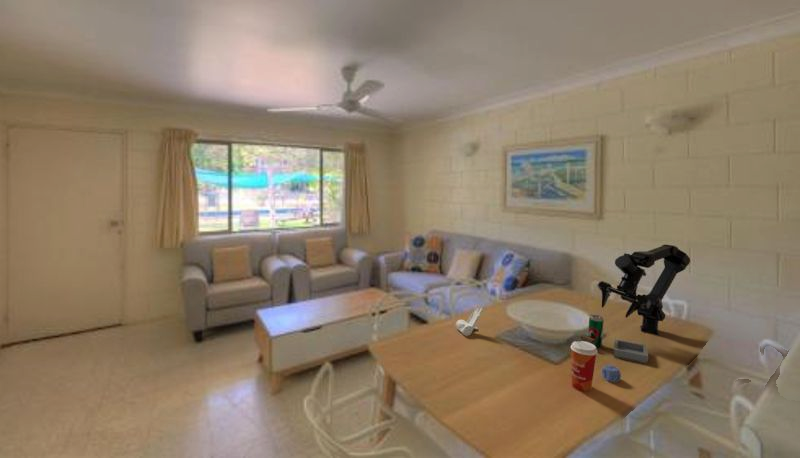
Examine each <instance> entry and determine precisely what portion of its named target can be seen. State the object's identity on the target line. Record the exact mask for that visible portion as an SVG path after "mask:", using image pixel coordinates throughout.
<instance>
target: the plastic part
mask: <svg viewBox="0 0 800 458" xmlns="http://www.w3.org/2000/svg"><path fill="white" fill-rule="evenodd" d="M483 312H484V307H481V305H479V304H478V303H477V304H476V306H475V307H474V311H473V312H471V314H470V315H469V318H468V320H467V321H466V320H464V319H458V320H457V321H456V322H455V328H456V329H457V330H458V331H459V332H461V334H463V336H466V337H467V336H470V335H471V334H472V332H473V331H474V330H478V329H479V328H478V327H477V323H478V321H479V319H480V317H481V315H482V313H483Z"/></svg>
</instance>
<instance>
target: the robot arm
mask: <svg viewBox="0 0 800 458" xmlns="http://www.w3.org/2000/svg"><path fill="white" fill-rule="evenodd" d="M662 259H663V265H664V268H663V270H662V271H661V273H660V275H659V277H658V278H657V279H656V280H657V281H656V282H655V284H654V285H653V287H652V289H651V290H650V292H649V293H648V294H644V293H643V294H637V289H638V285H639V283H640V281H641V280H642V278H643V277H646V276H647V272H646V271H645V269H646V268H647V269H648V268H651V267H653V266H654V265H655V262H657V261H659V260H662ZM690 263H691V258H690V257H689V255H688V254H687V253H686V252H684V251H682V250H681V249H679V247H678V246H675V245H672V244H662V245H661V246H659V247H655V248H653V249H650V250H647V251H642V250H641V251H640V250H639V251H634V252H632V254H630V253H625V252H624V253H623V255H620V256H618V257H616V259H615V261H614V265H615V266H616V267H617V268H618V269H619V270H620V271H621V272H622V273H623V274H624V275H623V276H621V281H620V282H619V284H618V285H617V286H616V288H615V287H612V285H611V283H608V282H607V281H603V280H601V281H599V282H598V284H597V287H598V289H599V290H600V291H601V308H605V306H606V304H607V301H608V298H610V297H611V293H613V294H615V295H618V296H620V299H621V300H622V301H626V302H628V303H631V304H630V306H629V308H628V310H627V311H626V313H625V318H626V319H627V318H628V317H629V316H631V315H632V314H633V313H634V312H637V315H638V316H641V317H642V323H641V325H639V326H640V327H639V329H640V331H641V332H642V333H643V332H644V333H648V334H649V333H650V334H654V335H660V330H659V322H664V320H665V319H666V313H665V312H664V310H663V306H664V304H663V299H664V296H665V295H666V293H667V292H668V290H669V288H670V286H671V285H672V283H673V282H674V279H675V278H676V276H677V274H679V273H681V272H684V271H685V270H686V268H687V267H688V266H689V265H690ZM641 267H642V268H641ZM644 268H645V269H644Z"/></svg>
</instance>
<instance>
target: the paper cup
mask: <svg viewBox="0 0 800 458" xmlns="http://www.w3.org/2000/svg"><path fill="white" fill-rule="evenodd" d="M570 349H571V357H570V359H571V368H570V369H571V387H573V389H575V390H577V391H580V392H585V393H586V392H590V391H592V384H593V381H594V371H595V366H596V358H597V354H598V353H599V352H598V350H597V347H596V346H595V345H593V344H591V343H589V342H585V341H581V342H580V340H577V341H576V340H575V341H573V342H572V343H571V345H570Z"/></svg>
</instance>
